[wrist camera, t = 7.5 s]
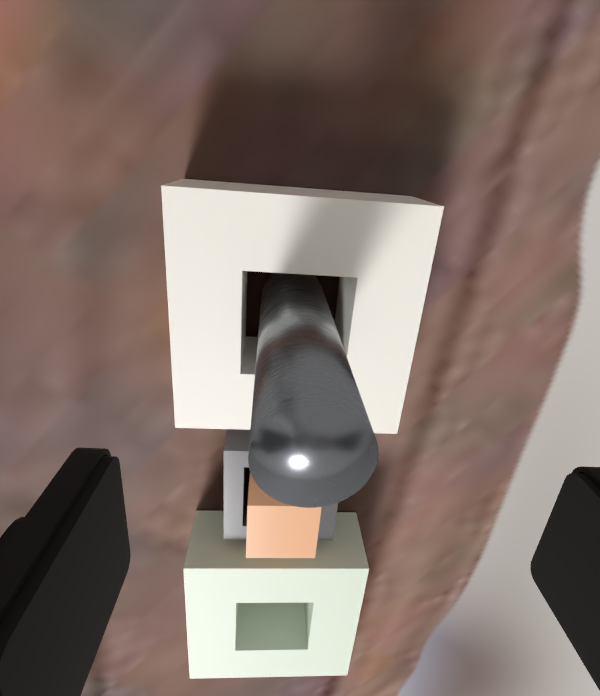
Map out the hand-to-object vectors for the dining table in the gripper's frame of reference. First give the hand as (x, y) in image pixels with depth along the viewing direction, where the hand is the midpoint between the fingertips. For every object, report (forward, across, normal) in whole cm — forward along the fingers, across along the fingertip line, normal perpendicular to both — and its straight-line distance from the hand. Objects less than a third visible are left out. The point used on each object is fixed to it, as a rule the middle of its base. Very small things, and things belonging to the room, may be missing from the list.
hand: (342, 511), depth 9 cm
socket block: (+13, +1, -1) cm, 13 cm away
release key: (+13, +1, +9) cm, 16 cm away
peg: (+13, +1, -1) cm, 13 cm away
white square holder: (+14, +1, +18) cm, 23 cm away
